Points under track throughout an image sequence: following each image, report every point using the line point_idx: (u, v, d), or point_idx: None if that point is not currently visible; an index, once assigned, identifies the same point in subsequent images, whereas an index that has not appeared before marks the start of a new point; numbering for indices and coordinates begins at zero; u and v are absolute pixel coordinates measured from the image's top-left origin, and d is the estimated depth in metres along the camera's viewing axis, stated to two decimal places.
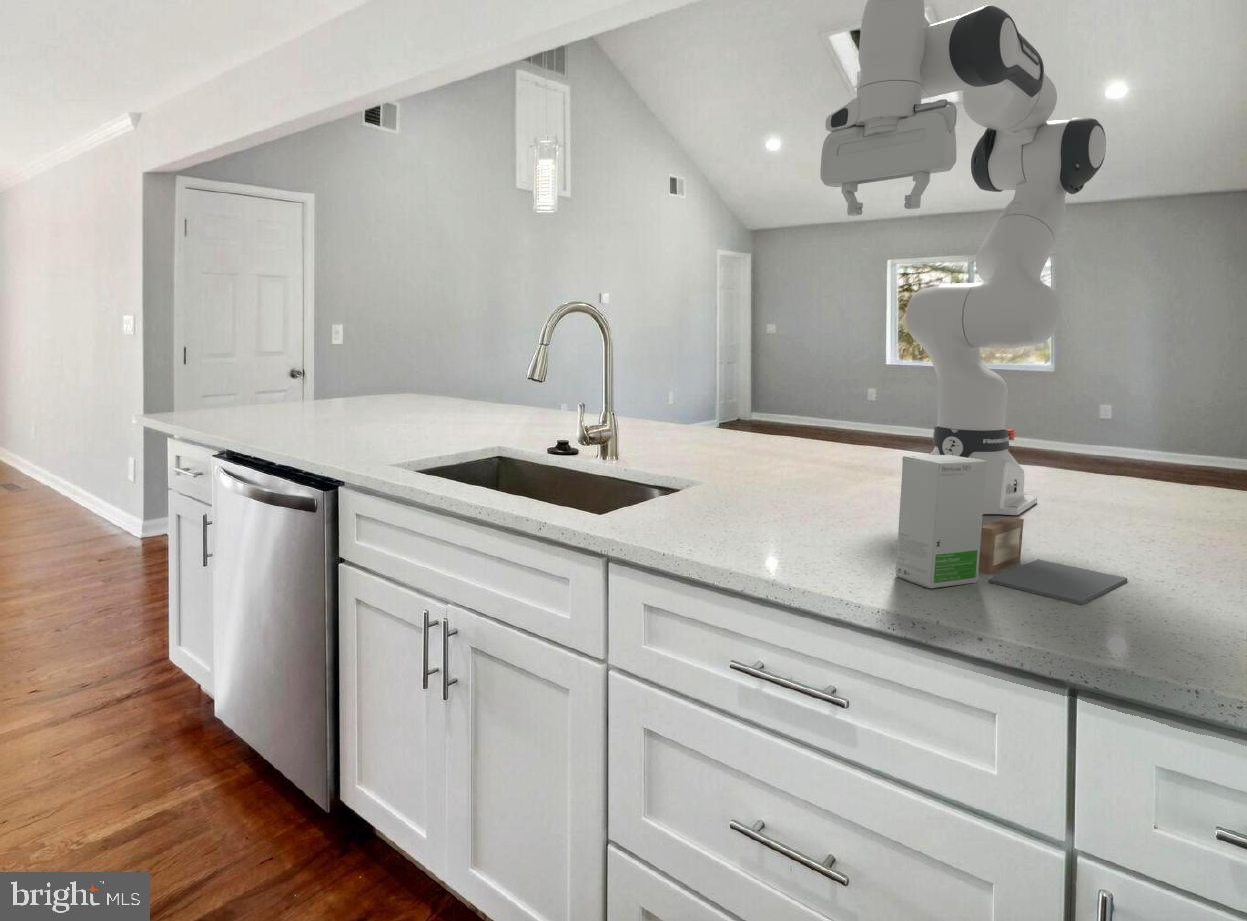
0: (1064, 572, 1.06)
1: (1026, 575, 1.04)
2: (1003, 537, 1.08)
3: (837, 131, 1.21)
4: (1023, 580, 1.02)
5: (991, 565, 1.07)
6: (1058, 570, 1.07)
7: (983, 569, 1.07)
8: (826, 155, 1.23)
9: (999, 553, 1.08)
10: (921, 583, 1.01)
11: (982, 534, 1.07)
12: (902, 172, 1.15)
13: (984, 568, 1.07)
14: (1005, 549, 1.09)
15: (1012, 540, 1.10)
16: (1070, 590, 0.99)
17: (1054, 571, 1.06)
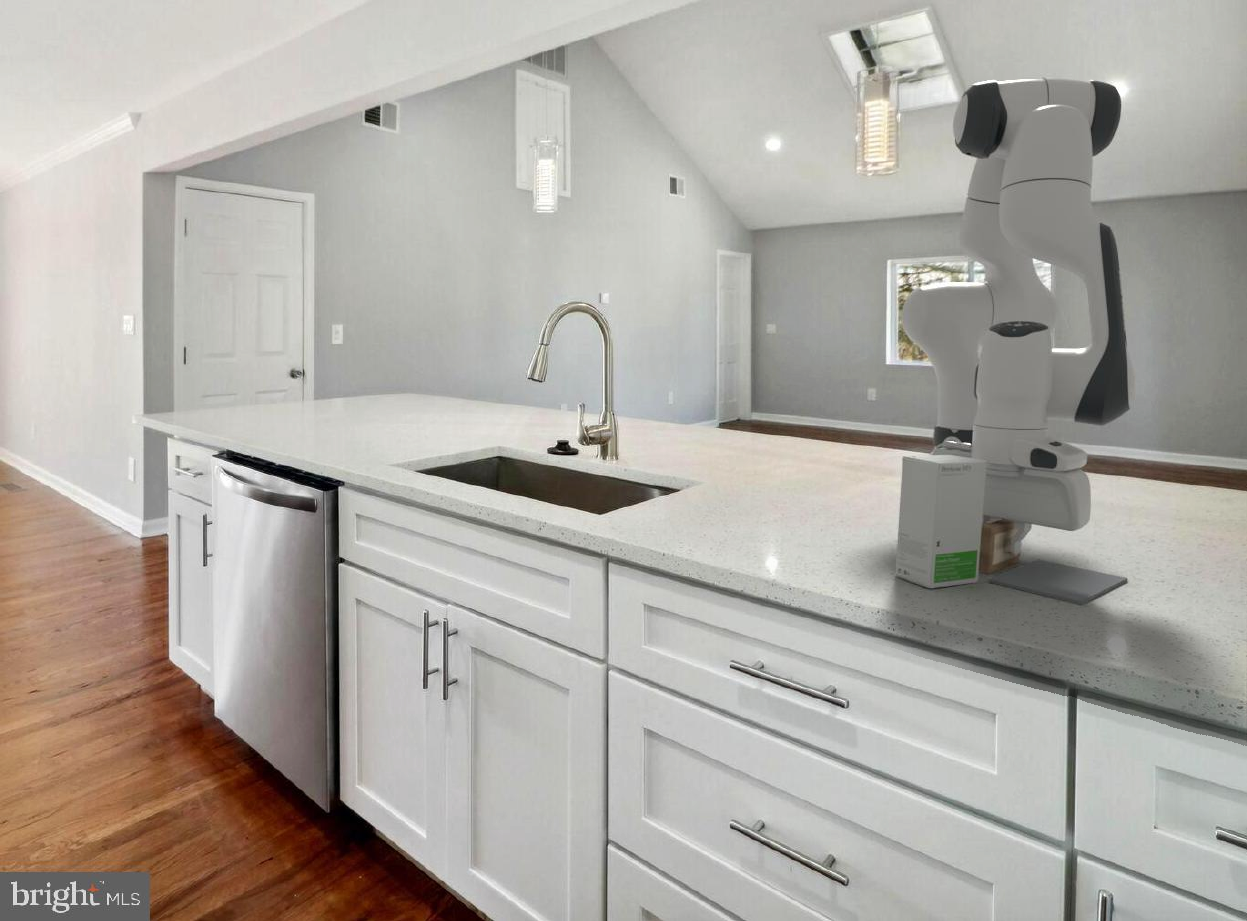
0: (1064, 572, 1.06)
1: (1026, 575, 1.04)
2: (1003, 537, 1.08)
3: None
4: (1023, 580, 1.02)
5: (991, 565, 1.07)
6: (1058, 570, 1.07)
7: (983, 568, 1.07)
8: None
9: (999, 552, 1.08)
10: (921, 583, 1.01)
11: (982, 533, 1.07)
12: None
13: (984, 567, 1.07)
14: None
15: None
16: (1070, 590, 0.99)
17: (1054, 571, 1.06)
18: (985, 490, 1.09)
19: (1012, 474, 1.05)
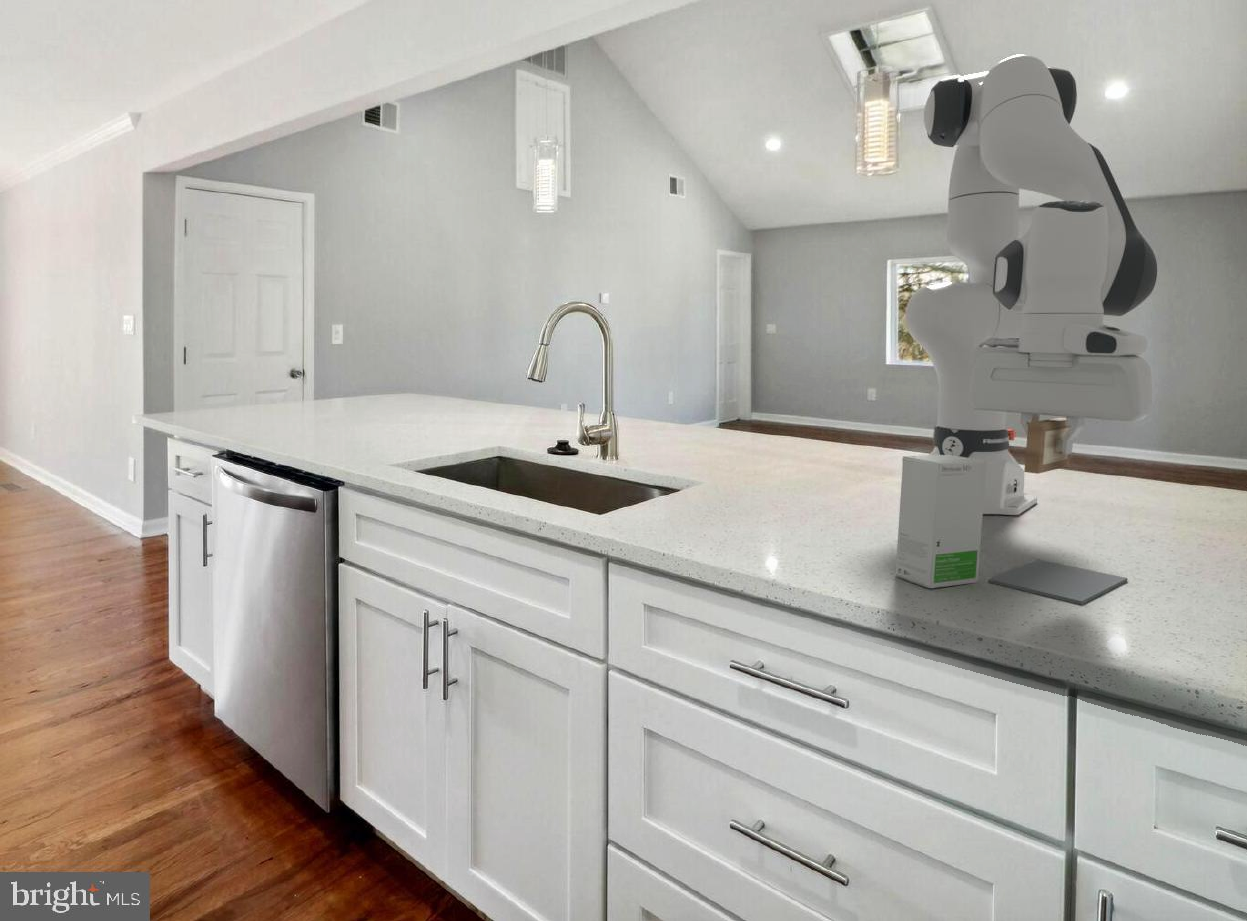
0: (1064, 572, 1.06)
1: (1026, 575, 1.04)
2: (1054, 435, 1.00)
3: None
4: (1023, 580, 1.02)
5: (1041, 464, 0.99)
6: (1058, 570, 1.07)
7: (1032, 468, 0.99)
8: None
9: (1049, 452, 1.00)
10: (921, 583, 1.01)
11: (1031, 430, 0.98)
12: None
13: (1033, 467, 0.99)
14: None
15: None
16: (1070, 590, 0.99)
17: (1054, 571, 1.06)
18: (1034, 385, 1.00)
19: (1064, 365, 0.97)
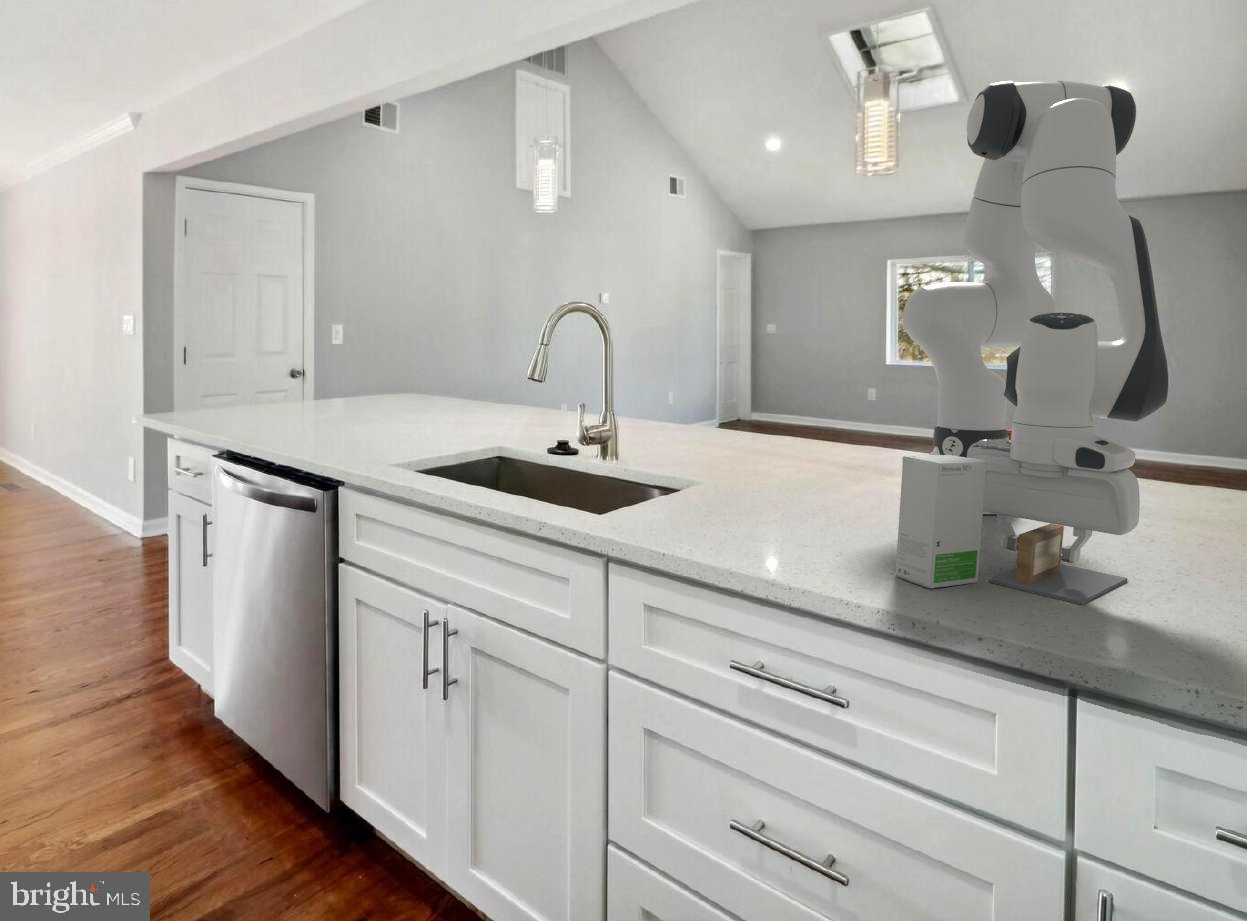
0: (1064, 572, 1.06)
1: None
2: (1044, 545, 1.02)
3: None
4: None
5: (1031, 575, 1.01)
6: None
7: (1023, 579, 1.01)
8: None
9: (1039, 562, 1.02)
10: (921, 583, 1.01)
11: (1022, 542, 1.01)
12: None
13: (1024, 578, 1.01)
14: (1045, 558, 1.03)
15: (1052, 548, 1.04)
16: (1070, 590, 0.99)
17: None
18: (1025, 491, 1.03)
19: (1054, 475, 0.99)
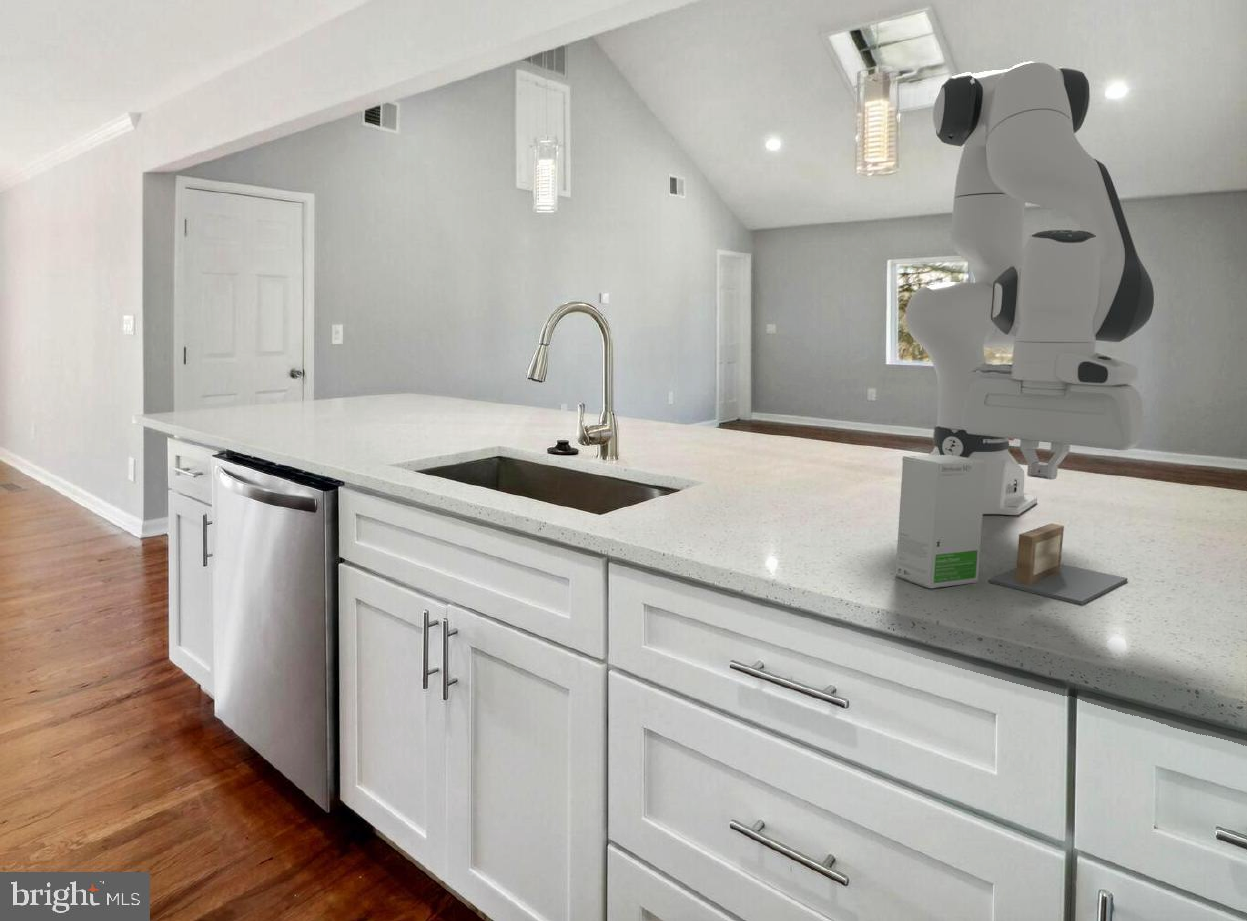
0: (1064, 572, 1.06)
1: None
2: (1044, 545, 1.02)
3: None
4: None
5: (1031, 575, 1.01)
6: None
7: (1023, 579, 1.01)
8: None
9: (1039, 562, 1.02)
10: (921, 583, 1.01)
11: (1022, 542, 1.01)
12: None
13: (1024, 578, 1.01)
14: (1045, 558, 1.03)
15: (1052, 548, 1.04)
16: (1070, 590, 0.99)
17: None
18: (1026, 412, 1.02)
19: (1057, 393, 0.98)
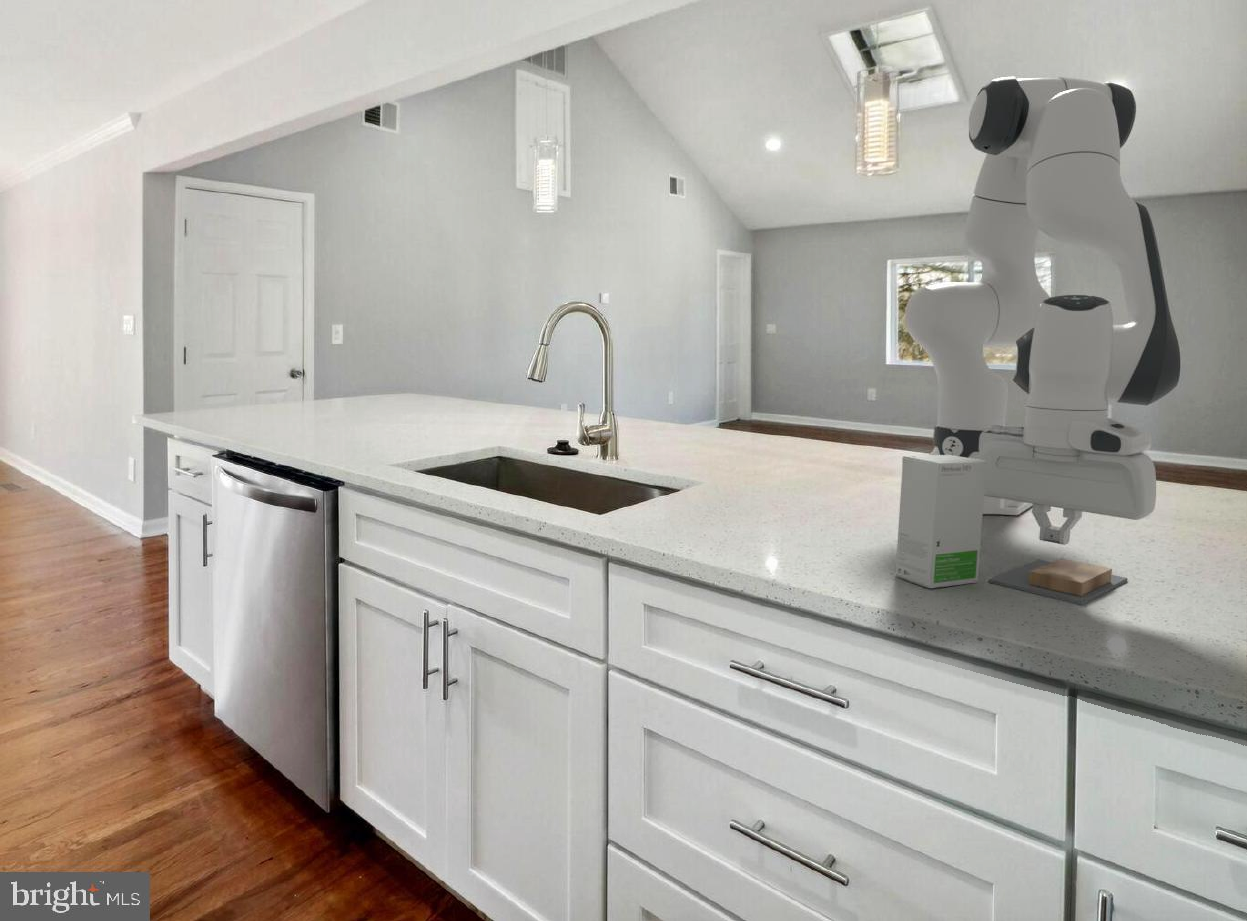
0: None
1: (1026, 575, 1.04)
2: None
3: None
4: (1023, 580, 1.02)
5: None
6: None
7: (1033, 579, 1.00)
8: None
9: None
10: (921, 583, 1.01)
11: (1073, 584, 0.97)
12: None
13: (1034, 581, 1.00)
14: None
15: None
16: None
17: None
18: (1038, 477, 1.01)
19: (1069, 459, 0.97)
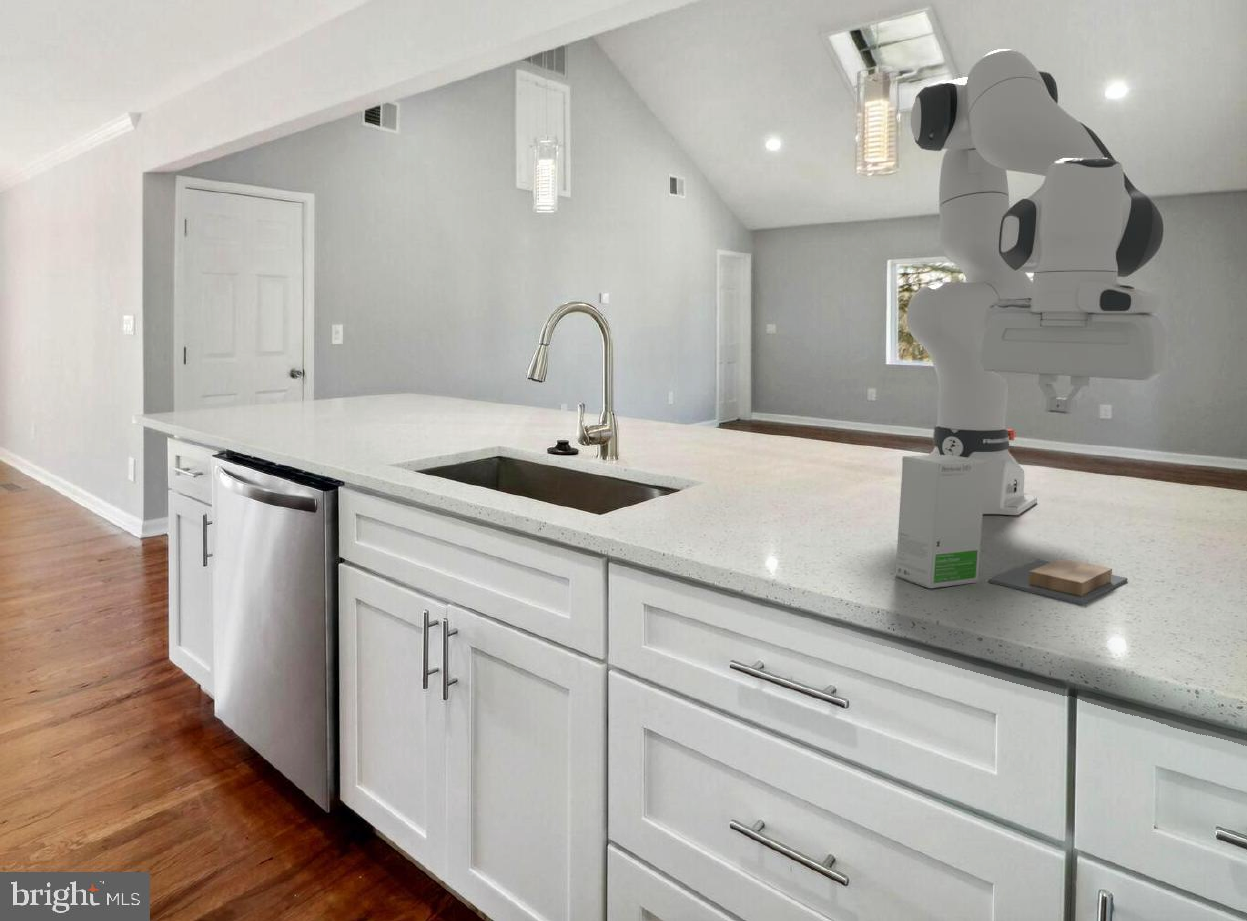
0: None
1: (1026, 575, 1.04)
2: None
3: None
4: (1023, 580, 1.02)
5: None
6: None
7: (1033, 579, 1.00)
8: None
9: None
10: (921, 583, 1.01)
11: (1073, 584, 0.97)
12: None
13: (1034, 581, 1.00)
14: None
15: None
16: None
17: None
18: (1046, 346, 1.00)
19: (1077, 324, 0.96)
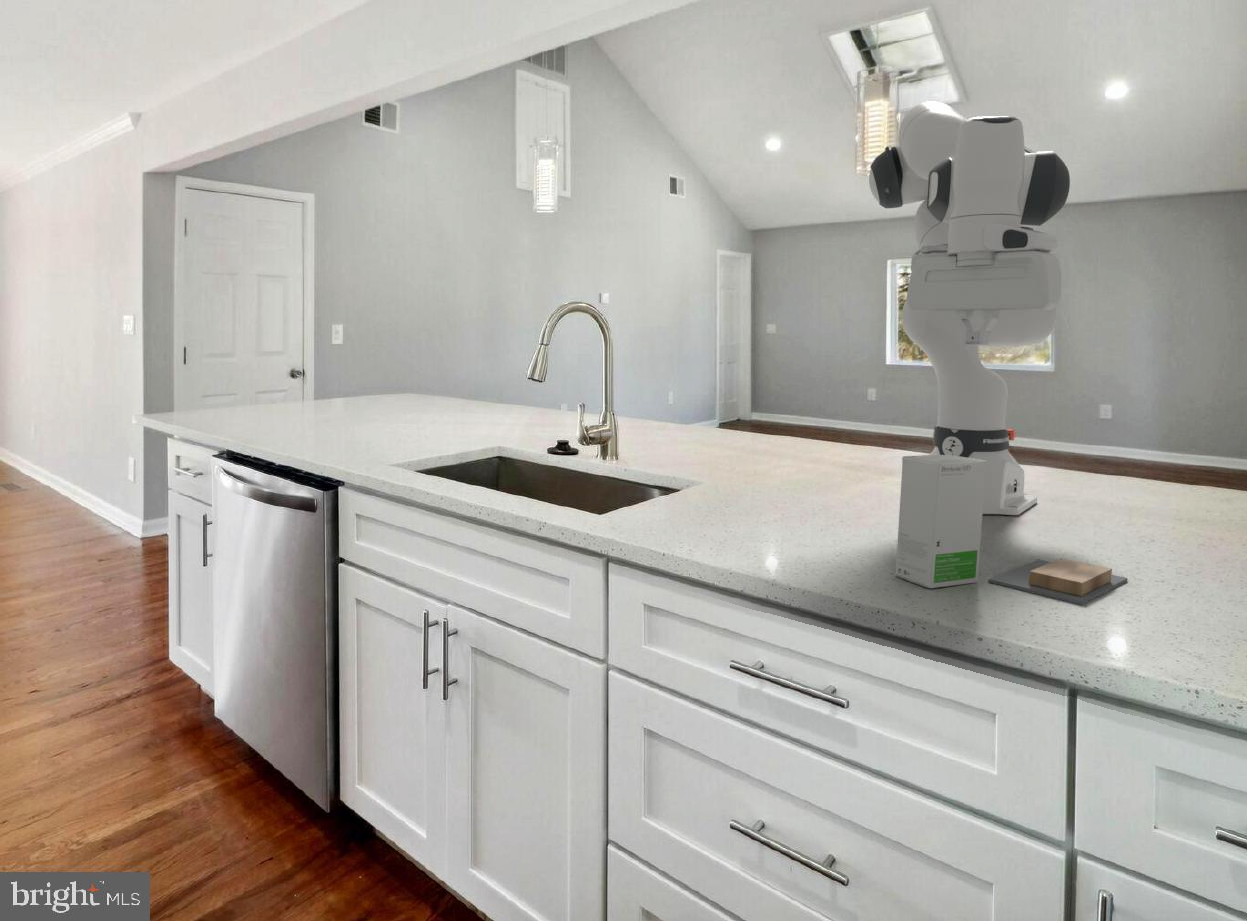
0: None
1: (1026, 575, 1.04)
2: None
3: None
4: (1023, 580, 1.02)
5: None
6: None
7: (1033, 579, 1.00)
8: None
9: None
10: (921, 583, 1.01)
11: (1073, 584, 0.97)
12: (957, 309, 1.17)
13: (1034, 581, 1.00)
14: None
15: None
16: None
17: None
18: (961, 284, 1.12)
19: (985, 262, 1.09)
